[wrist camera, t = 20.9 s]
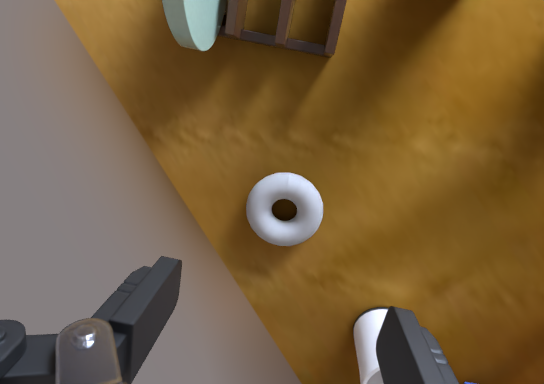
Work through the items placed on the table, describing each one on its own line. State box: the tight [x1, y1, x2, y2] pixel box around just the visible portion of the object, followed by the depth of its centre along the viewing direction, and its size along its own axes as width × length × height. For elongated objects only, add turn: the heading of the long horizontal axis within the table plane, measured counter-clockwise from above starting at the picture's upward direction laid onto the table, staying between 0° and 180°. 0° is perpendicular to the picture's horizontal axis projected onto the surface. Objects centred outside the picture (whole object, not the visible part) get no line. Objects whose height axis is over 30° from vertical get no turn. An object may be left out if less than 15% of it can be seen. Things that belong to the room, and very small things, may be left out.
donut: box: [246, 173, 323, 246], centre depth 42 cm, size 10×3×10 cm
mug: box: [353, 307, 389, 384], centre depth 43 cm, size 11×9×10 cm
